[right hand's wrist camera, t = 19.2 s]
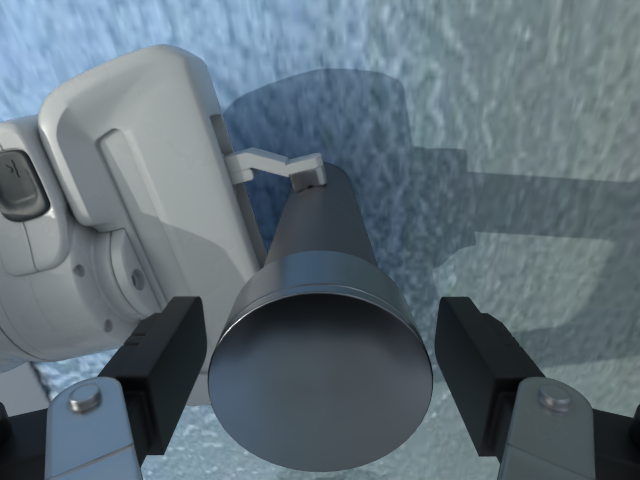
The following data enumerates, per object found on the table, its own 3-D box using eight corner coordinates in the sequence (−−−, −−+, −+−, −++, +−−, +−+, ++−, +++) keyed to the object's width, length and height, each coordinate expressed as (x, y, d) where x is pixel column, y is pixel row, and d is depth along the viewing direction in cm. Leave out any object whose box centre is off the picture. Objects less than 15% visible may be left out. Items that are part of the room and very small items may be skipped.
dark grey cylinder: (326, 233, 28) (334, 453, 11) (278, 198, 27) (202, 378, 10) (364, 187, 27) (441, 353, 10) (315, 149, 26) (302, 255, 9)
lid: (370, 218, 10) (384, 254, 8) (435, 369, 12) (462, 434, 9) (195, 293, 11) (162, 344, 9) (280, 424, 12) (271, 495, 10)
